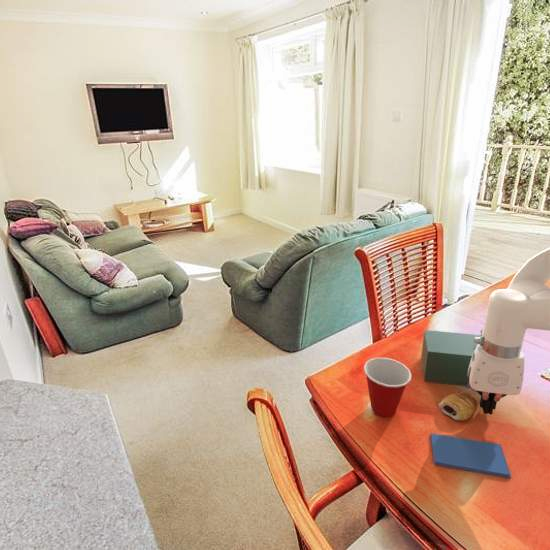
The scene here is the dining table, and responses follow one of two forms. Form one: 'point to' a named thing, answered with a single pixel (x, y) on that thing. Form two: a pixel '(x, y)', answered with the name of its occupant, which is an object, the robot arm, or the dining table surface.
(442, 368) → the bin
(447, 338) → the bread bin lid
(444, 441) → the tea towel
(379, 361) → the plastic cup
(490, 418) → the dining table surface
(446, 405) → the pastry
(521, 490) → the dining table surface
